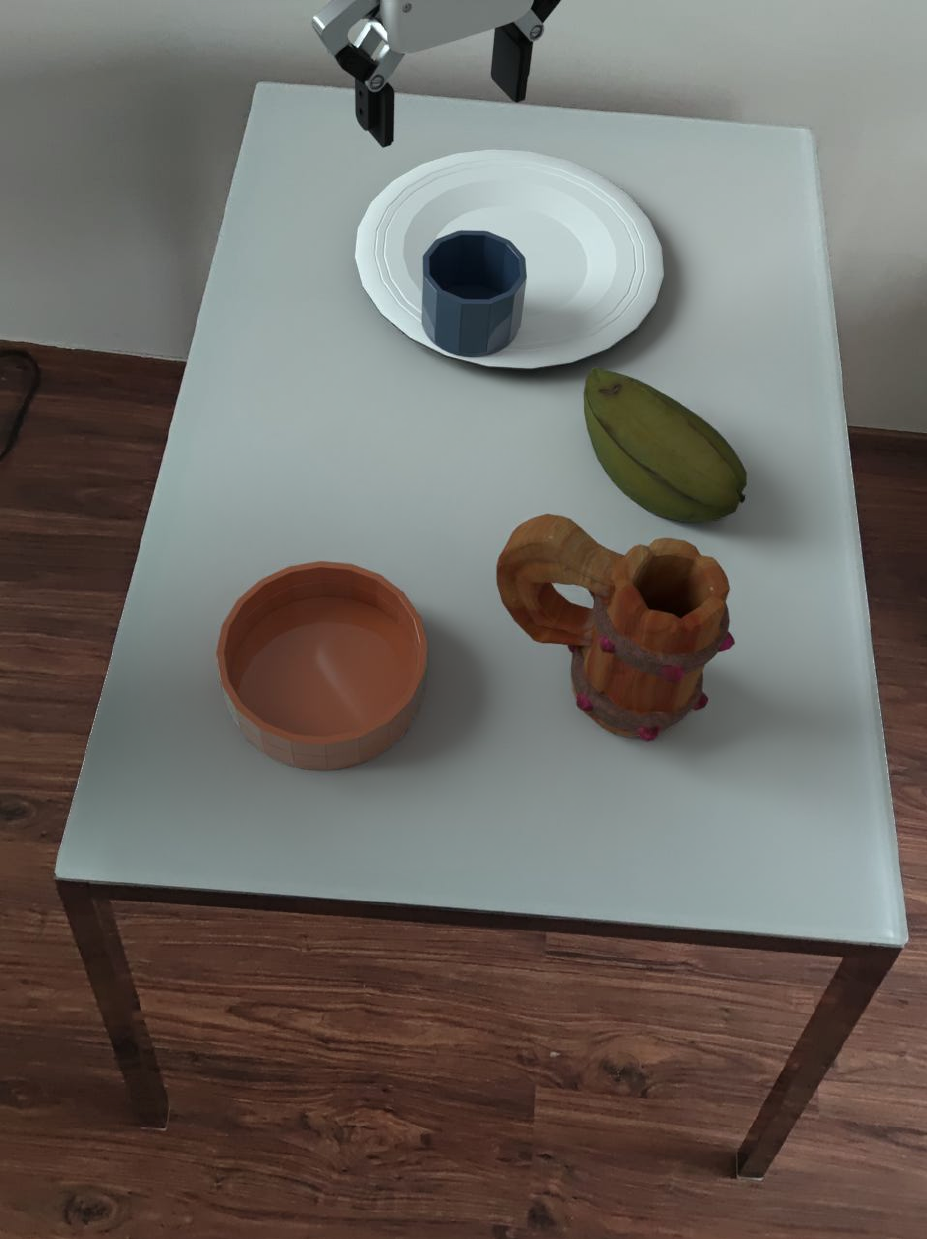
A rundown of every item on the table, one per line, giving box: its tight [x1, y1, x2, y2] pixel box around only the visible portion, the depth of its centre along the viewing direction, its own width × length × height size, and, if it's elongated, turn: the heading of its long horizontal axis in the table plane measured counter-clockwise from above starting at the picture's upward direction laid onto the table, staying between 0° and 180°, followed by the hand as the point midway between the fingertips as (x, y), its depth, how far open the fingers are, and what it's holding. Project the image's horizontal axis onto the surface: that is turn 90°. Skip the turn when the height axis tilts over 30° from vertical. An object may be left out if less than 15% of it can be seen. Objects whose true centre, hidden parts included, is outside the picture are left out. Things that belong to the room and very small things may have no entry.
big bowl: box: [215, 560, 429, 771], centre depth 78 cm, size 13×13×4 cm
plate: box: [354, 148, 665, 371], centre depth 99 cm, size 25×25×2 cm
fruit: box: [583, 366, 748, 523], centre depth 87 cm, size 11×12×7 cm
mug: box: [495, 513, 736, 743], centre depth 74 cm, size 15×8×15 cm, turn 65°
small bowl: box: [421, 230, 527, 357], centre depth 91 cm, size 8×8×6 cm
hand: (443, 111), depth 77 cm, fingers open, 9 cm apart
